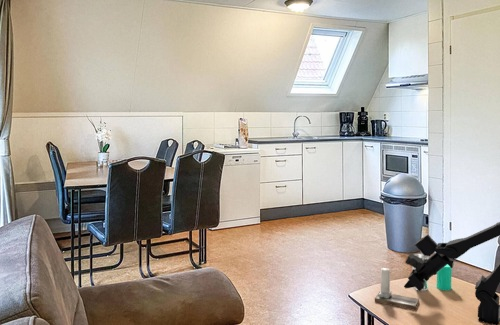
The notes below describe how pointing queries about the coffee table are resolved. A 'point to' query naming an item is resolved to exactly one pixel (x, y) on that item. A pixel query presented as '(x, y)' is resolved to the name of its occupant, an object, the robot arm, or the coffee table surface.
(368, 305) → the coffee table surface
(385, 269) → the tuning slider
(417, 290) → the beer glass
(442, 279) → the candle
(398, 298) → the board
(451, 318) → the coffee table surface
